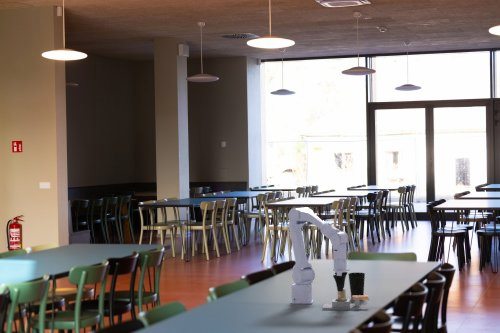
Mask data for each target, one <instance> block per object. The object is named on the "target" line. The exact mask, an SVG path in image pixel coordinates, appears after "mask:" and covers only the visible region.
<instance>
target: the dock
mask: <svg viewBox="0 0 500 333" xmlns="http://www.w3.org/2000/svg"><path fill="white" fill-rule="evenodd" d="M360 309H361V300H359V297H355V300H354V303H351V298H346V301H338V298H332V300H331V303H324V304H323V306H322V311H323V310H324V311H359V310H360Z"/></svg>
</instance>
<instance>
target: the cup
mask: <svg viewBox="0 0 500 333" xmlns="http://www.w3.org/2000/svg"><path fill="white" fill-rule="evenodd" d="M347 275H348V282H349V290H350V291H349V292H350V297H351V298H350V300H352V296H365V295H364V294H365V275H366V273H364V272H349V273H347Z"/></svg>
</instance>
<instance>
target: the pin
mask: <svg viewBox="0 0 500 333" xmlns="http://www.w3.org/2000/svg"><path fill="white" fill-rule="evenodd" d="M355 297H359V300H360V301H369V295H364V296H352V299H351V300H352V301H355Z"/></svg>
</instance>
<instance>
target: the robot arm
mask: <svg viewBox="0 0 500 333" xmlns="http://www.w3.org/2000/svg"><path fill="white" fill-rule="evenodd" d="M287 217H288V230H289V234H290V240H291V245H292V250H293V255H294V256H293V258H294V260H295V261H294V262H295V264H294V265H293V267H292V276H291V277H292V281H293V282H294V283H292V284H291V304H293V305H295V304H296V305H299V304H304V305H305V304H311V305H312V304H313V303H314V301H315V300H314V299H313V286H312V285H313V281H314V280H315V278H316V273H315V270H314V269H313V266H312V264H311V263H310V262H309V261H308V258H307V252H306V248H305V247H306V246H305V242H304V237H303V232H302V228H303V227H304V225H305V224H306V223H307V222H309V223H311V224H313V225H314V226H315V227H316V228H319V229H320V230H319V231H320V233H321V234H322V235H323V236H325V237H326V238H328V240H329V241H330V244H331V246H332V249H333V250H332V252H333V271H334V274H333V275H332V276H333V279H334V281H335V285H336V289H337V290H338V291H343V289H345V284H346V282H345V281H346V277H347V275H348V272H349V271H350V268H348V266H347V262H348V260H347V244H348V242H349V234H348V233H347V232H346V231H344V230H342V231H341V230H340V229H339V228H337V227H336V226H334V225H333V223H332V222H325V221H323V220H322V219H321V218H320V217H319V216H318V215H317V214H315V212H314V210H313V209H311V208H310V207H308V206H304V207H297V208H296V207H294V208H293V207H292V208H291V209H290V210H289V212H288V213H287Z"/></svg>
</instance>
